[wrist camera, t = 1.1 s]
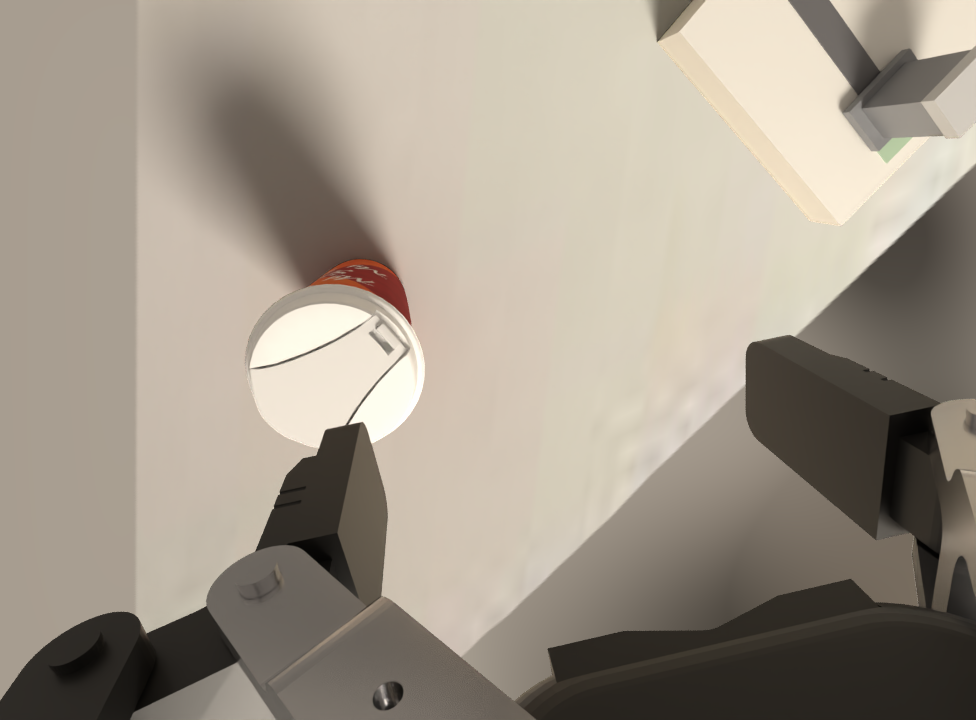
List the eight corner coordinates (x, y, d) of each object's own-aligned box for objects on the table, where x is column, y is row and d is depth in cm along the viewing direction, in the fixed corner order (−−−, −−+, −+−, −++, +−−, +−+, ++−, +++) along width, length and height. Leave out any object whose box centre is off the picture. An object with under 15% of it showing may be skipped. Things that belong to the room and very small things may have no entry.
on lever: (901, 50, 32) (996, 28, 27) (929, 91, 33) (1026, 78, 28) (842, 112, 33) (923, 104, 27) (871, 151, 34) (955, 150, 28)
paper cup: (368, 216, 35) (337, 251, 22) (446, 308, 37) (461, 390, 24) (275, 294, 36) (191, 373, 22) (357, 379, 38) (325, 494, 25)
